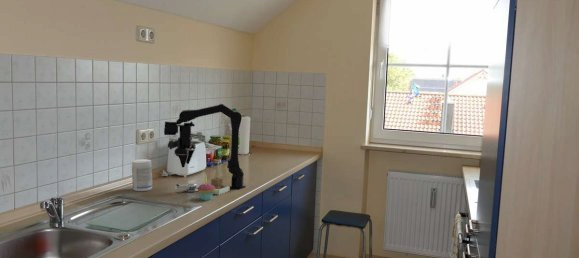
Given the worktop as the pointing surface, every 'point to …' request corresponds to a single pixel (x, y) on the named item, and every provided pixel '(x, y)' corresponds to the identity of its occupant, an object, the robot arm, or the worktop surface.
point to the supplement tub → (142, 175)
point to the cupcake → (206, 190)
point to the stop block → (217, 183)
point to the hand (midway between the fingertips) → (185, 165)
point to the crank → (185, 186)
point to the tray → (222, 190)
